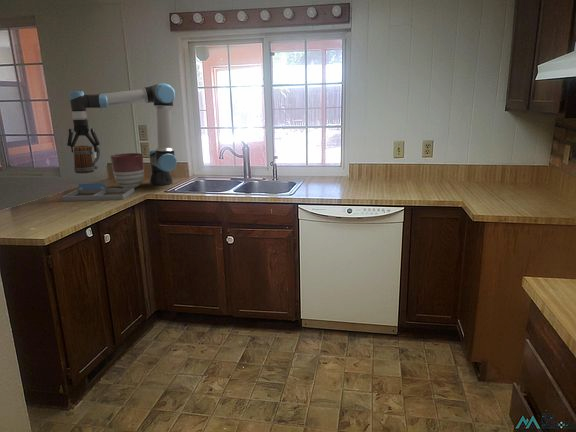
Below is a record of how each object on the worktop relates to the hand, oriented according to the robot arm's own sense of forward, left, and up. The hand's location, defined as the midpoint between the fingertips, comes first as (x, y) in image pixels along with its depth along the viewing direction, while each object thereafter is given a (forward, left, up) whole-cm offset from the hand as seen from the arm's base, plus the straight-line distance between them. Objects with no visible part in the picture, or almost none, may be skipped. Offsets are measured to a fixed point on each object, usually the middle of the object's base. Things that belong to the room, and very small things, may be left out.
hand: (85, 157), depth 249 cm
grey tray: (-5, 0, -23) cm, 24 cm away
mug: (-1, 0, -8) cm, 8 cm away
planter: (-16, -23, -23) cm, 37 cm away
